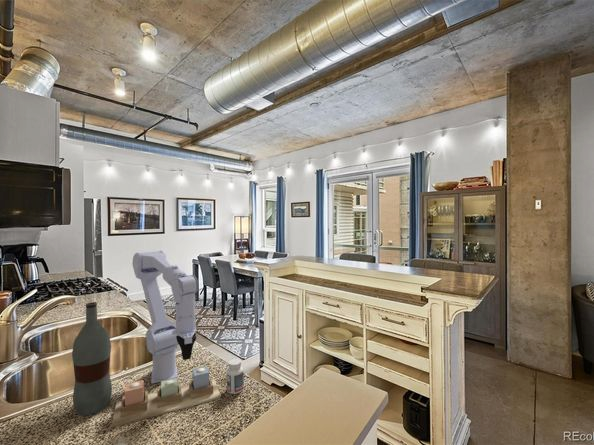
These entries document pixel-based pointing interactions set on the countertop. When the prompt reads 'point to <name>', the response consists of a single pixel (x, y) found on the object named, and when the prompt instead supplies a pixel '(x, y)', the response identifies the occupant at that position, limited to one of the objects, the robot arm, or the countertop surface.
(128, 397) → the terracotta block
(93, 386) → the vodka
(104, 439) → the countertop surface
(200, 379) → the slate-blue block
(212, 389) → the birch board
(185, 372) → the countertop surface
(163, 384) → the sage block
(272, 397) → the countertop surface
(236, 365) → the pill bottle
